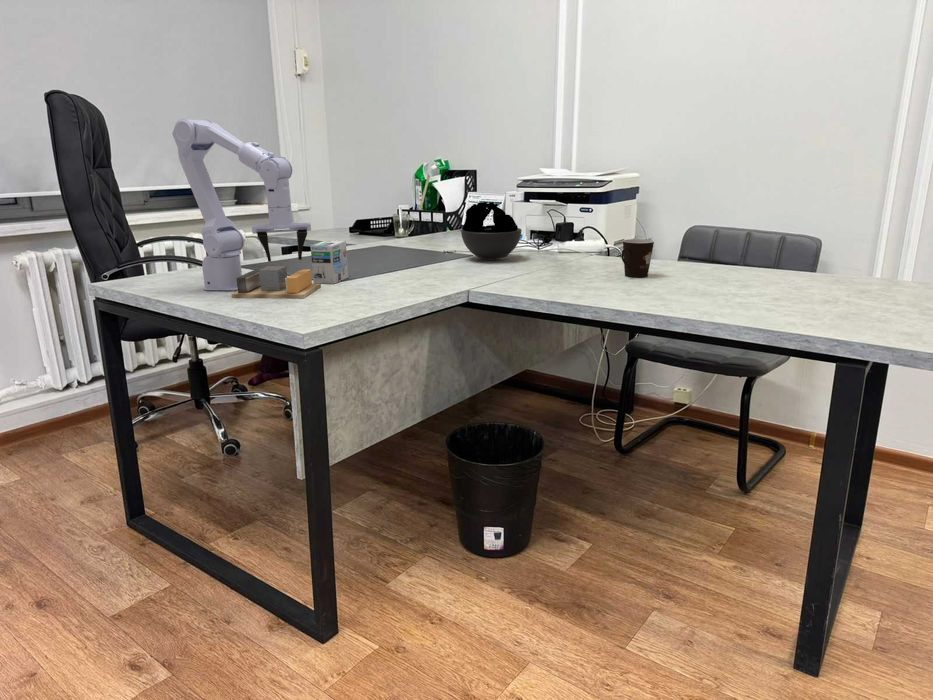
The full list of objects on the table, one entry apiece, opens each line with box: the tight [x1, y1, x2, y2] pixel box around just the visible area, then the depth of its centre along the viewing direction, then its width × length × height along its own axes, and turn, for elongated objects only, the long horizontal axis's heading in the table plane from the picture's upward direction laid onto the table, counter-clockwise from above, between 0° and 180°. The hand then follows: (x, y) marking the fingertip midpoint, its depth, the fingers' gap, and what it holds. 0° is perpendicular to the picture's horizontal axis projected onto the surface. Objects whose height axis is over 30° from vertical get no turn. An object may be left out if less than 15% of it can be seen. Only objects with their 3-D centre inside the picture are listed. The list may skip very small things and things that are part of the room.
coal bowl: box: [460, 201, 522, 261], centre depth 217 cm, size 20×20×19 cm
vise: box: [230, 268, 322, 299], centre depth 173 cm, size 19×14×5 cm
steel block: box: [259, 265, 288, 291], centre depth 172 cm, size 5×6×6 cm
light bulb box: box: [310, 240, 349, 285], centre depth 187 cm, size 11×7×11 cm, turn 168°
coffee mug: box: [620, 238, 655, 279], centre depth 187 cm, size 12×9×10 cm
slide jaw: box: [285, 269, 313, 293], centre depth 172 cm, size 3×12×4 cm, turn 175°
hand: (284, 260), depth 171 cm, fingers open, 7 cm apart
